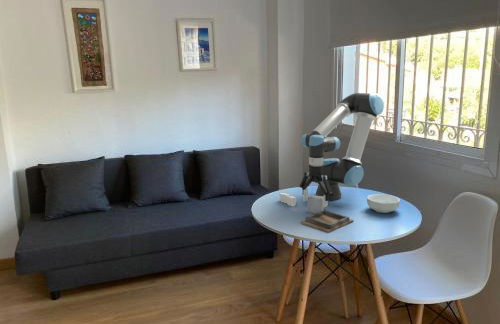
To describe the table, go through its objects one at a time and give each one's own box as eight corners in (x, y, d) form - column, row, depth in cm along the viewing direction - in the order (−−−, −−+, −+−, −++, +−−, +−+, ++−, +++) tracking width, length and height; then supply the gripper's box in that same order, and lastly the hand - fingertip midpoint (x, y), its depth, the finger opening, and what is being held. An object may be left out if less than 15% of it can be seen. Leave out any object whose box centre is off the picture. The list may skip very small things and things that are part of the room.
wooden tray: (325, 213, 215) (326, 208, 214) (353, 221, 202) (353, 216, 202) (300, 223, 202) (301, 218, 201) (328, 232, 189) (328, 227, 189)
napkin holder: (276, 200, 239) (276, 191, 238) (295, 200, 240) (295, 191, 238) (279, 209, 225) (279, 199, 223) (299, 208, 225) (299, 198, 224)
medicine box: (323, 211, 218) (324, 196, 216) (321, 214, 214) (321, 198, 212) (309, 210, 221) (309, 194, 219) (307, 212, 217) (307, 197, 215)
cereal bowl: (401, 217, 208) (402, 203, 206) (367, 215, 211) (368, 202, 209) (396, 206, 224) (397, 194, 222) (365, 205, 227) (366, 192, 226)
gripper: (293, 162, 218) (293, 200, 223) (331, 169, 200) (329, 210, 205) (302, 160, 223) (302, 197, 228) (340, 167, 205) (338, 207, 209)
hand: (315, 203), depth 216 cm, fingers open, 13 cm apart
